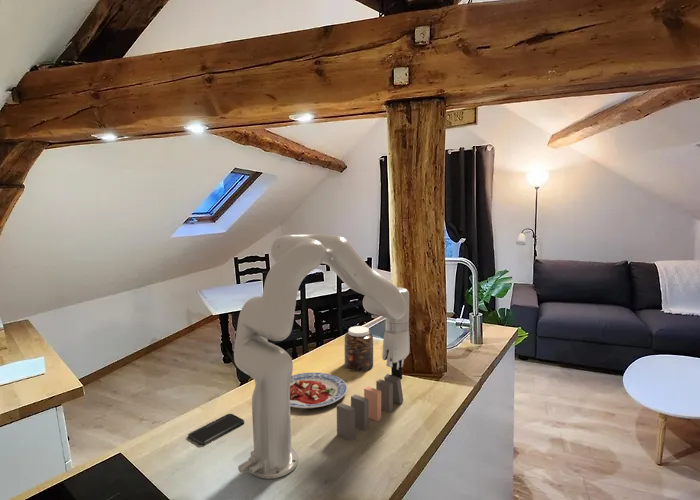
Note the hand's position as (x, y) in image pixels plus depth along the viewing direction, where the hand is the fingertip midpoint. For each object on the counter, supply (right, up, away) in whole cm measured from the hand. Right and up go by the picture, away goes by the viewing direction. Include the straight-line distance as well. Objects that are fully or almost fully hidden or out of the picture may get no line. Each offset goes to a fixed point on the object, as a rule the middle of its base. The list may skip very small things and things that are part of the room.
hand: (396, 378), depth 142 cm
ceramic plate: (-29, -7, +6) cm, 31 cm away
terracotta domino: (-9, -9, -9) cm, 16 cm away
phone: (-55, -11, -16) cm, 58 cm away
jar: (-12, -4, +29) cm, 32 cm away
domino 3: (-4, -8, -4) cm, 10 cm away
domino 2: (-13, -10, -14) cm, 22 cm away
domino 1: (-17, -11, -19) cm, 28 cm away
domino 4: (0, -7, 0) cm, 7 cm away
